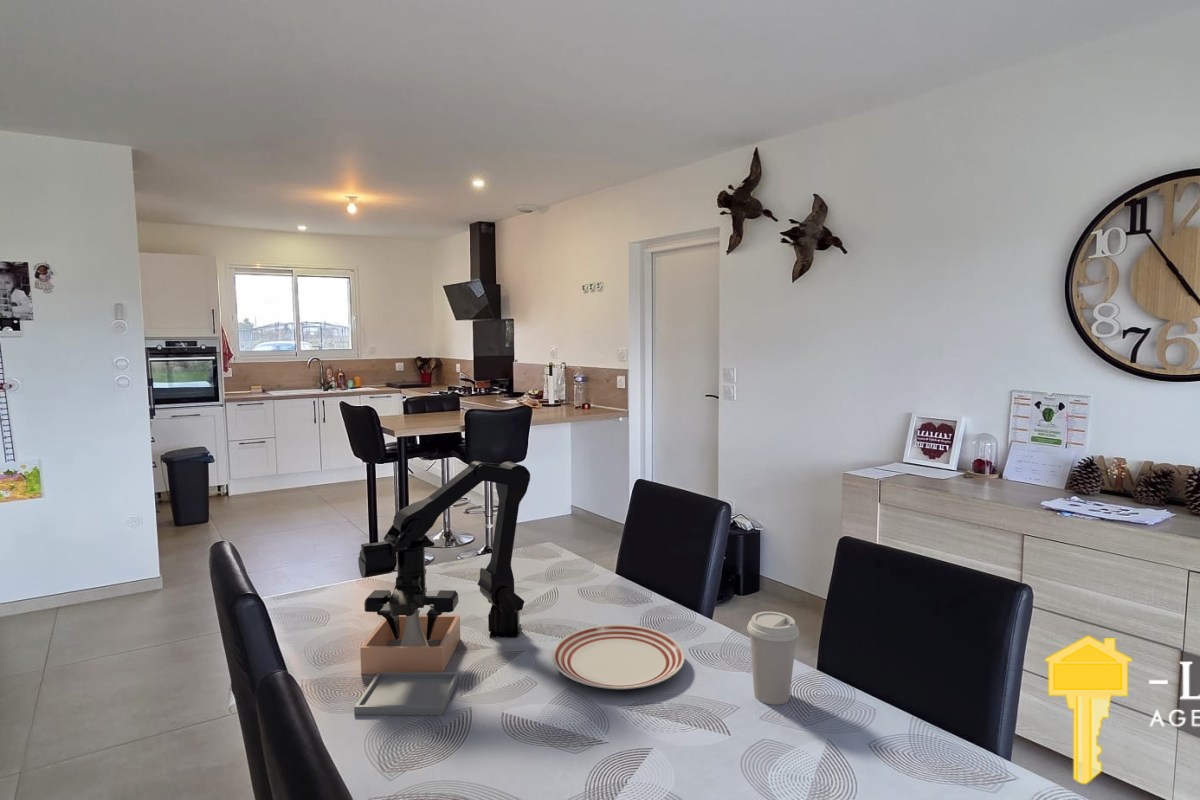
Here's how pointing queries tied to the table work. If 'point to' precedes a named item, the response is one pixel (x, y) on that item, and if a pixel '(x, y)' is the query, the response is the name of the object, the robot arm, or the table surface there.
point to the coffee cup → (772, 655)
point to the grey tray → (407, 694)
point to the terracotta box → (410, 647)
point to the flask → (413, 632)
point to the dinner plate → (618, 656)
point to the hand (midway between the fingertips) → (413, 639)
